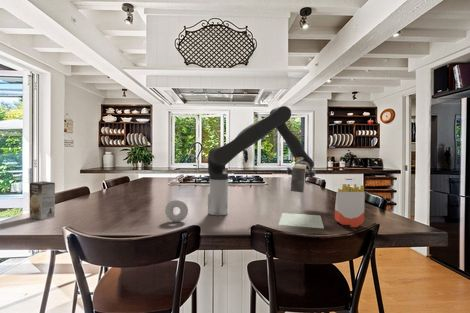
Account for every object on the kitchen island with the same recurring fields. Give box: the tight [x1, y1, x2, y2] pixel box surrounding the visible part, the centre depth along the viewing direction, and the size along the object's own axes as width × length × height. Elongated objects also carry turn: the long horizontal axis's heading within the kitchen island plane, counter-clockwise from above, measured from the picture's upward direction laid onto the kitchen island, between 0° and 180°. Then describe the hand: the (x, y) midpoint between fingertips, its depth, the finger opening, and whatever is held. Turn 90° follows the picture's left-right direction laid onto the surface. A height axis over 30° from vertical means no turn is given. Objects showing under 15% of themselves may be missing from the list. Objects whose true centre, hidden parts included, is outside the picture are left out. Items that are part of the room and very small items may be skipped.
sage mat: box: [278, 212, 325, 229], centre depth 122 cm, size 18×22×1 cm
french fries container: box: [334, 183, 366, 228], centre depth 117 cm, size 5×11×18 cm, turn 91°
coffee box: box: [29, 181, 56, 221], centre depth 125 cm, size 9×6×16 cm
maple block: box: [290, 163, 307, 193], centre depth 123 cm, size 5×14×10 cm, turn 163°
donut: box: [164, 198, 189, 223], centre depth 120 cm, size 10×4×10 cm, turn 89°
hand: (299, 174), depth 124 cm, fingers closed on maple block, 5 cm apart
